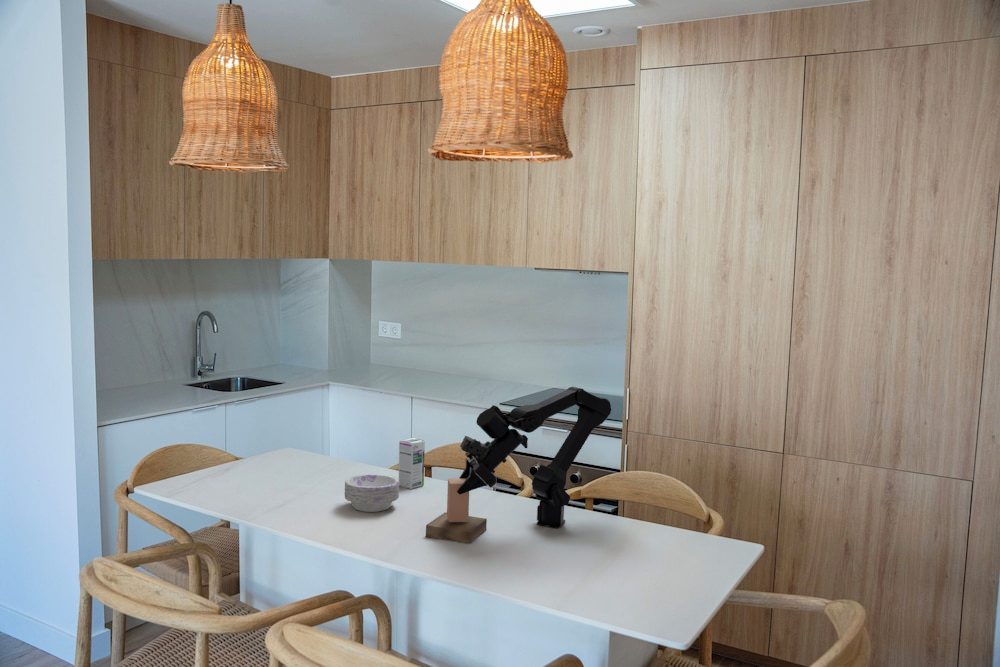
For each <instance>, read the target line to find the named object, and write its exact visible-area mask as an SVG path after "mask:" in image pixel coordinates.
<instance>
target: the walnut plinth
mask: <svg viewBox="0 0 1000 667" xmlns="http://www.w3.org/2000/svg"><path fill="white" fill-rule="evenodd" d="M487 522H488V519H487V518H483V517H478V516H471V515H468V522H449V521H448V518H447V511H445V512H443V513H442V514H440V515H438V516H437V517H436V518H434V519H433V520H432V521H430V522H428V523H427V524H426V525H425V538H426V537H427V538H433V539H439V540H444V541H449V542H456V543H462V544H468V545H470V544H471V543H472V542H473V541H474V540H476V539H477V538H478V537H480V536H481V535H482V534H483V533H484V532H486V531H487Z"/></svg>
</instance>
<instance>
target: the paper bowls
mask: <svg viewBox="0 0 1000 667" xmlns="http://www.w3.org/2000/svg"><path fill="white" fill-rule="evenodd" d="M399 497H400V486H399V478H396V477H394V476H390V475H385V474H361V475H355V476H354V475H353V476H351V477H349V478H347V479H345V481H344V499H345V500H346V501H348V502H350V503H351V505H352V507H353V508H354V509H355V510H358V511H360V512H366V513H377V512H378V513H379V512H383V511H386V510H387V509H389V508H390V507H391V505H392V504H393V503H394V502H395V501H397V500H398V499H399Z"/></svg>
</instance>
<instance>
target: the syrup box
mask: <svg viewBox="0 0 1000 667" xmlns="http://www.w3.org/2000/svg"><path fill="white" fill-rule="evenodd" d="M398 443H399V444H398V450H399V451H398V480H399V487H402V488H405V489H410V490H413V489H416V488H419V487H423V486H424V485H425V447H426V446H425V440H423V439H419V438H414V437H411V438H407V439H402V440H399V441H398Z"/></svg>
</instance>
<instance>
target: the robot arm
mask: <svg viewBox="0 0 1000 667" xmlns="http://www.w3.org/2000/svg"><path fill="white" fill-rule="evenodd" d="M573 406H576V407H578V409H577V420H576V422H575V424H574V425H573V427H572V429H571V430H570V431H569V433H568V435H567V436H566V438H565V440H564V441H563V443H562V444H561V446H560V447H559V449H558V451H557V452H556V454H555V456H554V457H553V459H552V460H551V462H550V463H549V464H547V465H544V464H540V465H539V466H538V469H537V471H536V472H535V474H533V475H532V482H531V487H532V490H533V493H534V495H535V498H536V499H537V500H539V503H538V504H539V505H538V506H537V508H536V509H537V510H536V512H537V513H536V521H537V522H536V525H537V526H544V527H549V528H557V529H559V528H561V527H562V526H563V524H565V522H566V519H564V518H565V517H564V516H565V505H567V506H568V505H569V504H570V499H571V495H569V494H568V492H566V490H565V486H566V484H567V473H568V471H569V469H570V467H572V464H573V463H574V461H575V460H576V458H577V456H578V454H579V453H580V451H581V450H582V449H583V446H584V444H585V443H586V441H587V440H588V438H589V437H590V435H591V434H592V432H593V430H594V429H596V428H598V427H599V426H600V425H602V424H603V423H604V422H605V421H606V420H607V419H608V418H609V416H610V415H611V412H612V405H611V402H610V400H608V398H604V397H599V396H596V395H594V394H591V393H590V392H588V391H586V390H585V389H584V388H580V387H577V386H570V387H568V388H567V389H566V390H563V391H561V392H559V393H557V394H555V395H553V396H551V397H548V398H546V399H544V400H542V401H540V402H538V403H535V404H534V403H533V404H525V405H521V406H518V407H517V406H516V407H515V408H513V409H511V411H509V412H507V413H505V414H504V413H503V412H502V410H501V409H500V407H499V406H497V405H494V404H493V405H491V406H490V408H487V409H484V410H483V411H482V412H480V413H479V415H478V416H477V418H476V425H477V426H478V427H480V429H481V430H482V431H483V432H484V433H485V434H486V435H487V436H488V437H489V438H490V439H492V440H491V441H489V440H488V441H486V442H485V443H483V442H481V441H480V440H477V439H476V438H472V437H469V436H467V435H464V437H463V439H462V442H461V444H460V445H459V448H460V450H462V451H464V452H465V454H464V455H465V456H466V458H464V460H465V468H464V469H463V471H462V472H461V474H460V476H459V477H458V478H467V479H466V480H465V481H464V483H463V484H462V485H461V486H460V488H459V489H458V491H457V492H458V493H459V494H463V493H466V492H468V491H469V492H470V491H474V490H477V489H480V488H483V487H489V488H493V487H494V486H495V485H496V483H497V476H496V475H495V473H496V471H495V470H496V468H498V466H500V465H501V464H502V463H503V464H505V463H506V462H507V458H508V457H509V456H510V455H511V454H512V453H513V452H514V451H515V450H516V449H517V448H518V447H519V446H520V445H522V447H524V449H528V447H529V446H528V440H529V438H528V437H527V435H525V434H521V433H519V431H522V432H524V433H527V434H530V433H533V432H534V431H536V430H538V428H540V427H542V425H543V424H544V422H545V420H547V419H549V418H551V417H553V416H555V415H557V414H559V413H561V412H563V411H565V410H567V409H569V408H572V407H573ZM510 427H512V428H510Z"/></svg>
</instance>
